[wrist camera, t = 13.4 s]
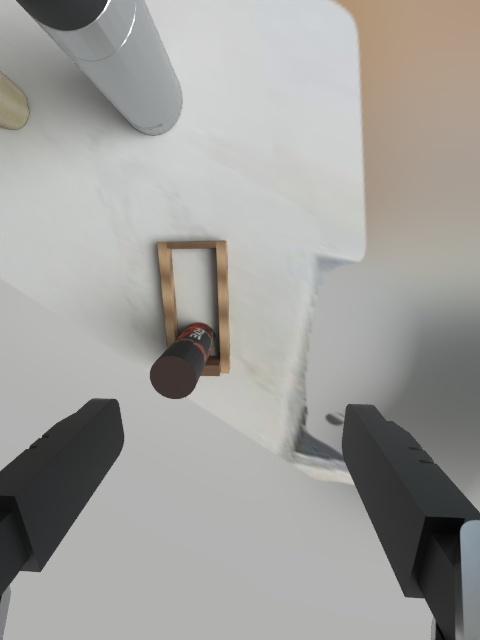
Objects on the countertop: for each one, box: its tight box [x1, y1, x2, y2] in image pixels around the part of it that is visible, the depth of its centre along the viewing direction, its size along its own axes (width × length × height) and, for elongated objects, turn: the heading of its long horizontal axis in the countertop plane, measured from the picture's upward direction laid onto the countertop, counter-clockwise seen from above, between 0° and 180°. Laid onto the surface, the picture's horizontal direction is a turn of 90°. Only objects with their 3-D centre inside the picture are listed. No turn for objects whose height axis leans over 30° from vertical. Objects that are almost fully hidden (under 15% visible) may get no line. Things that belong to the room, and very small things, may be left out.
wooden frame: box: [157, 241, 230, 376], centre depth 41 cm, size 23×11×4 cm, turn 1°
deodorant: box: [150, 323, 215, 399], centre depth 37 cm, size 6×6×15 cm
